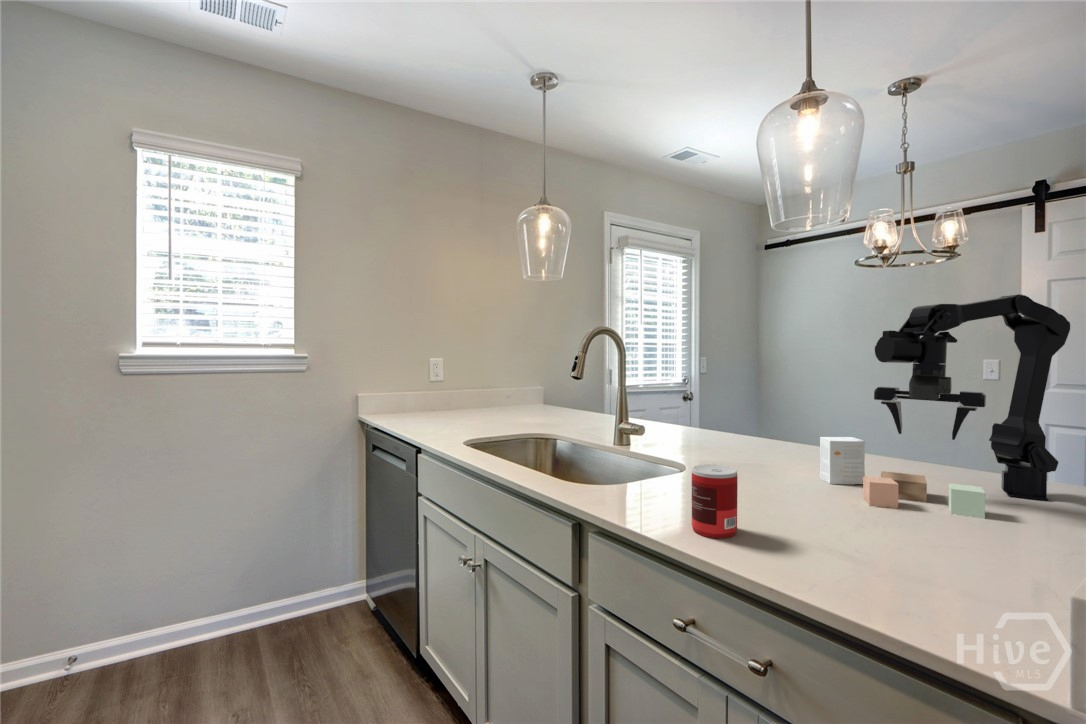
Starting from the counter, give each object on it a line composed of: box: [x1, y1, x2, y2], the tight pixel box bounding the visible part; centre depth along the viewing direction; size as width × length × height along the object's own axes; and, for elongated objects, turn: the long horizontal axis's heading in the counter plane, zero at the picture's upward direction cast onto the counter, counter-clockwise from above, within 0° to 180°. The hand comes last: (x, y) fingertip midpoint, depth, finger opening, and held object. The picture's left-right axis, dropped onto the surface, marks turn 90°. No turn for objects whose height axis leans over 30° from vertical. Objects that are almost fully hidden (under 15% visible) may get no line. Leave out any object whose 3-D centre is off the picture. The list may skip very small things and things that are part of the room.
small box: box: [819, 436, 866, 485], centre depth 124 cm, size 8×6×10 cm
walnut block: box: [880, 470, 928, 503], centre depth 112 cm, size 8×8×4 cm
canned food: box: [691, 464, 739, 539], centre depth 91 cm, size 8×8×11 cm
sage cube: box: [948, 483, 986, 519], centre depth 100 cm, size 5×5×5 cm
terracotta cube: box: [862, 476, 899, 509], centre depth 106 cm, size 5×5×5 cm
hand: (926, 436), depth 110 cm, fingers open, 9 cm apart
